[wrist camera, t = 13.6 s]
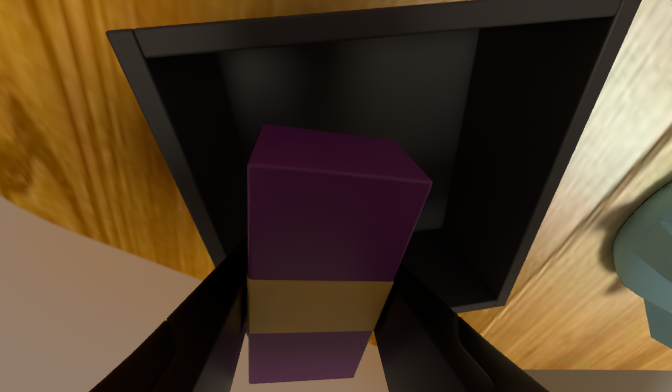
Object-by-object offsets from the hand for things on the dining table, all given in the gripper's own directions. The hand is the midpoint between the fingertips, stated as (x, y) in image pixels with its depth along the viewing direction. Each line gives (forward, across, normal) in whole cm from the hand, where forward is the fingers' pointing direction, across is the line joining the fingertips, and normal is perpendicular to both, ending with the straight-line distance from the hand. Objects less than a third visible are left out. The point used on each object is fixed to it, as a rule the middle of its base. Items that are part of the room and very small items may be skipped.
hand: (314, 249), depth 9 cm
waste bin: (+7, -3, -1) cm, 8 cm away
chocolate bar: (0, 0, 0) cm, 0 cm away
